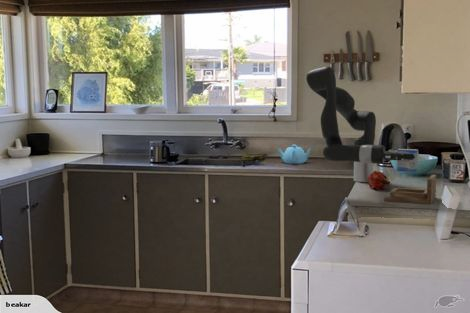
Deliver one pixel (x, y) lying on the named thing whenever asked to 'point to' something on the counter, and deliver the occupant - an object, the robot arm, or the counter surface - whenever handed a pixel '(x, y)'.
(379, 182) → the dragon fruit
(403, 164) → the medicine box
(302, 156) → the teapot
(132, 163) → the counter surface
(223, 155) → the counter surface
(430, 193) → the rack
